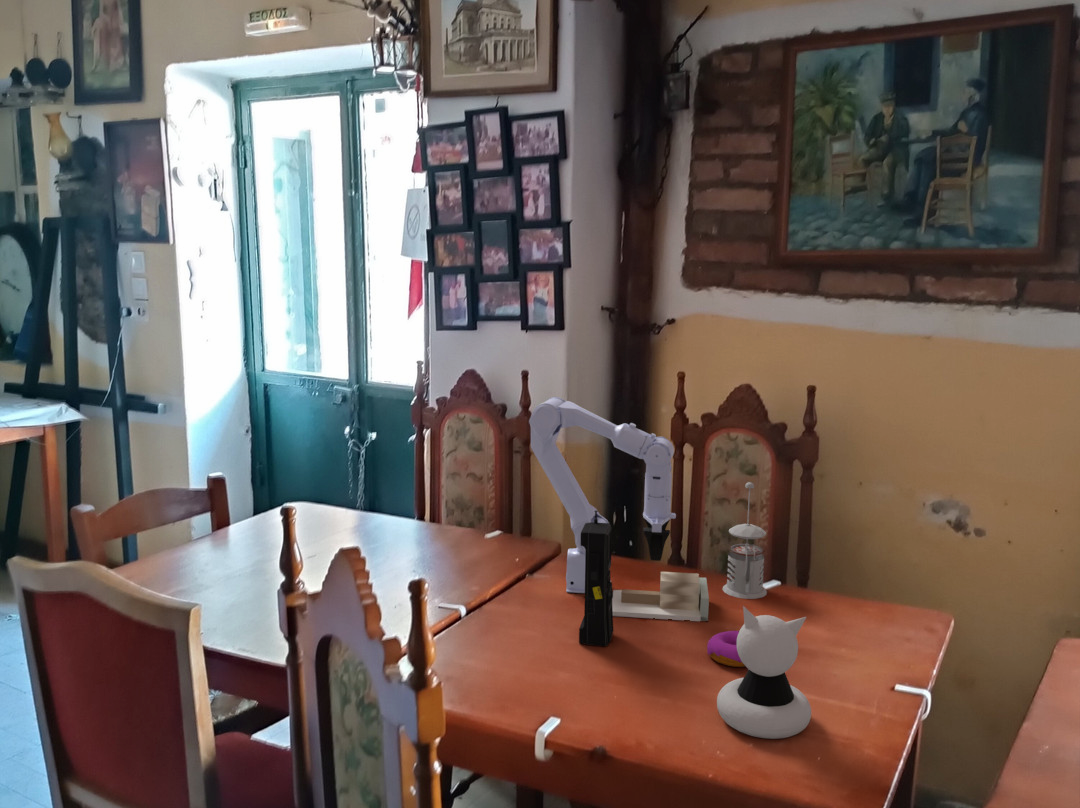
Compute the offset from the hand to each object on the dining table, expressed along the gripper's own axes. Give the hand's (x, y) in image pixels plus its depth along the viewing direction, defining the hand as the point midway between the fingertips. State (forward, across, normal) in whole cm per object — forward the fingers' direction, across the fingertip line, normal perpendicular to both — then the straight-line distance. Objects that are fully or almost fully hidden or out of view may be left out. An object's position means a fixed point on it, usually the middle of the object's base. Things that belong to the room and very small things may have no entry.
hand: (655, 554), depth 195 cm
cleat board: (+9, -7, -1) cm, 12 cm away
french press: (+10, +5, -20) cm, 23 cm away
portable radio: (+10, -25, +11) cm, 29 cm away
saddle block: (+8, -7, -5) cm, 12 cm away
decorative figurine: (+10, -51, -18) cm, 55 cm away
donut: (+10, -29, -15) cm, 34 cm away
